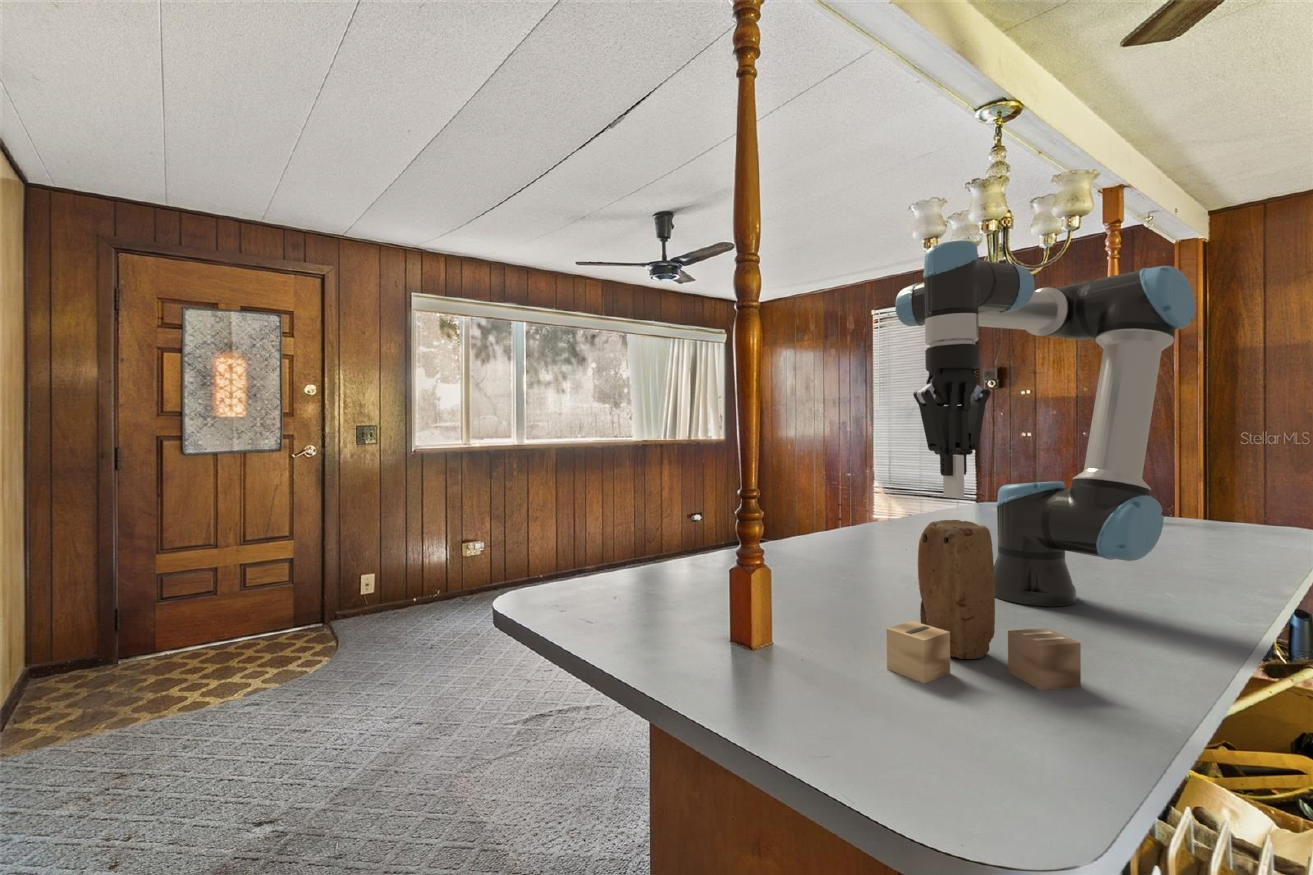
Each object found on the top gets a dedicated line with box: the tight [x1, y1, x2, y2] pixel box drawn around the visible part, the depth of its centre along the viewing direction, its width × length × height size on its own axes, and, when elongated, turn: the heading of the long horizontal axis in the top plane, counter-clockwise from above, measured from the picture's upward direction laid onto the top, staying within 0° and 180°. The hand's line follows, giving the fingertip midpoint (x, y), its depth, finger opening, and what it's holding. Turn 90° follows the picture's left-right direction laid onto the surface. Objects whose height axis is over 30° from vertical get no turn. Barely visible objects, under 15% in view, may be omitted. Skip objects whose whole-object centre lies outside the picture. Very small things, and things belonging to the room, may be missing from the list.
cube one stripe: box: [886, 620, 951, 684], centre depth 88 cm, size 6×6×6 cm
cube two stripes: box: [1007, 627, 1082, 691], centre depth 84 cm, size 6×6×6 cm
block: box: [917, 519, 996, 660], centre depth 96 cm, size 11×8×20 cm
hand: (953, 496), depth 95 cm, fingers closed
